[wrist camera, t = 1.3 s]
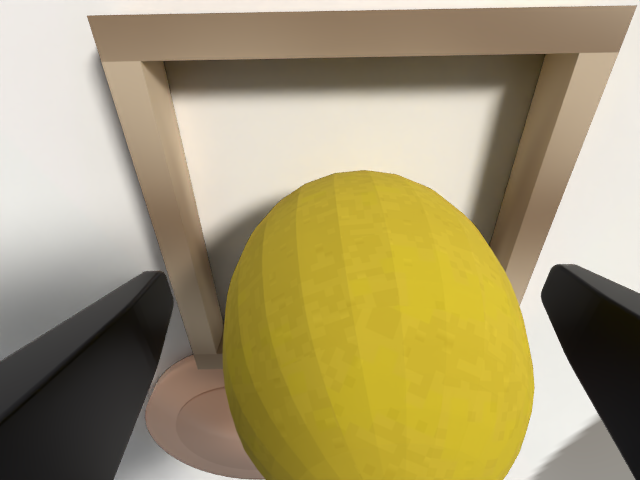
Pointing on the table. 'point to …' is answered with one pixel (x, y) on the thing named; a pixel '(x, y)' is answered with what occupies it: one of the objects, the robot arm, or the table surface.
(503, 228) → the wooden picture frame
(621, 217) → the table surface
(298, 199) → the lemon
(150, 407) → the saucer
